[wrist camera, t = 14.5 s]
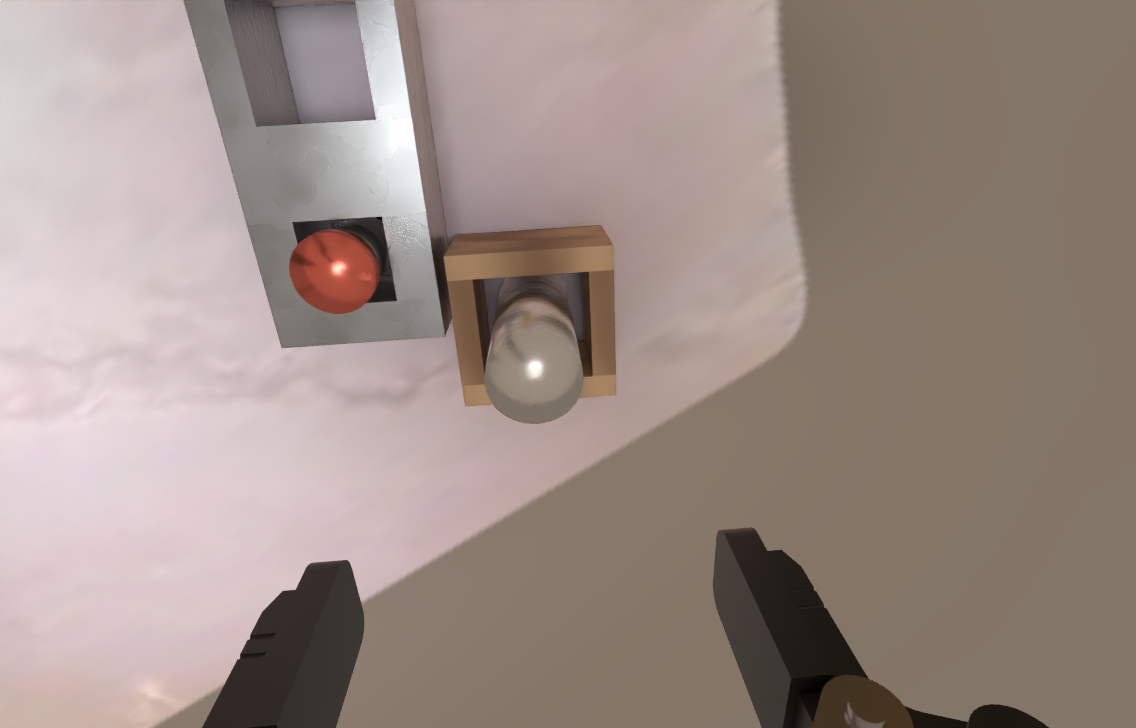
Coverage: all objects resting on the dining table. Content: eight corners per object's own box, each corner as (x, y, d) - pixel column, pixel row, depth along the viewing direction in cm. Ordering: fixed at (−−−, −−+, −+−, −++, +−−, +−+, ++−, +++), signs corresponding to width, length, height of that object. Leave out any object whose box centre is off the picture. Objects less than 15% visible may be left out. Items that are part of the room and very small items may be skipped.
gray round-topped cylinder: (502, 333, 34) (489, 426, 24) (495, 267, 32) (478, 337, 22) (569, 329, 34) (585, 420, 24) (565, 262, 32) (581, 330, 22)
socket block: (316, 314, 33) (281, 348, 28) (233, -17, 26) (171, -44, 21) (456, 304, 33) (444, 336, 28) (410, -26, 26) (385, -54, 22)
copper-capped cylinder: (341, 279, 31) (300, 317, 25) (326, 211, 29) (279, 235, 24) (408, 275, 31) (382, 310, 25) (396, 207, 29) (366, 230, 24)
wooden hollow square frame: (473, 366, 35) (465, 406, 30) (455, 234, 31) (443, 256, 27) (604, 357, 35) (616, 395, 30) (601, 225, 32) (613, 245, 27)
